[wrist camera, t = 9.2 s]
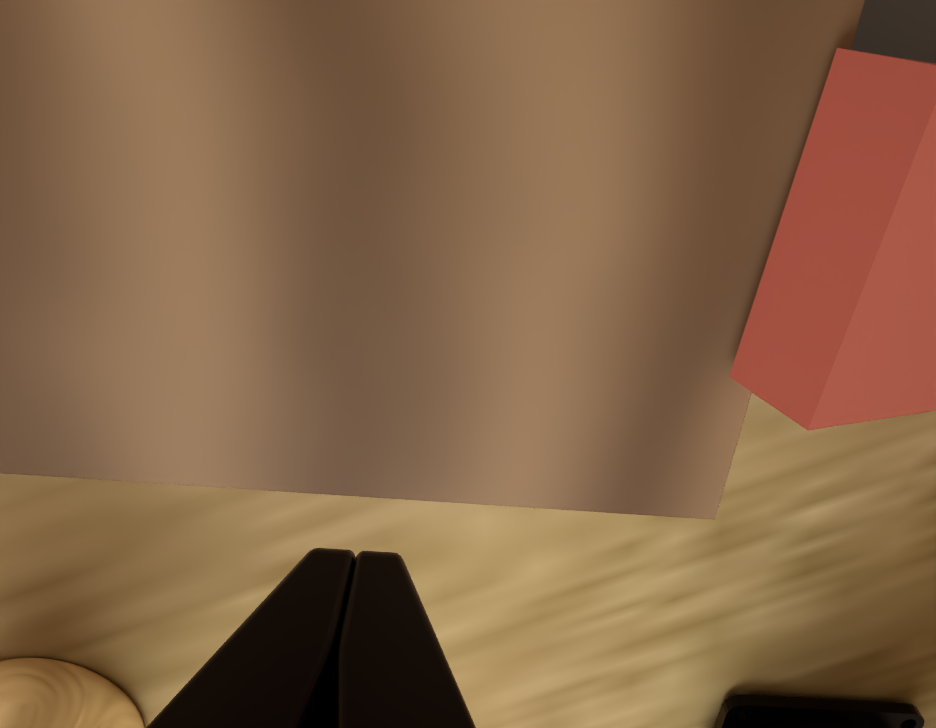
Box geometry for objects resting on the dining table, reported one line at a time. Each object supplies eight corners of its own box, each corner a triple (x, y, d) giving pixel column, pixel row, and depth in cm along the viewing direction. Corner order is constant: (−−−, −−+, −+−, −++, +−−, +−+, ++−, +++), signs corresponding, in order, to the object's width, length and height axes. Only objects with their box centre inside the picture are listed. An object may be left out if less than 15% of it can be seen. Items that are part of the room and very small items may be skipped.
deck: (827, -227, 14) (947, -288, 11) (671, 423, 21) (714, 519, 17) (-71, -327, 14) (-258, -427, 10) (53, 379, 20) (-34, 470, 17)
